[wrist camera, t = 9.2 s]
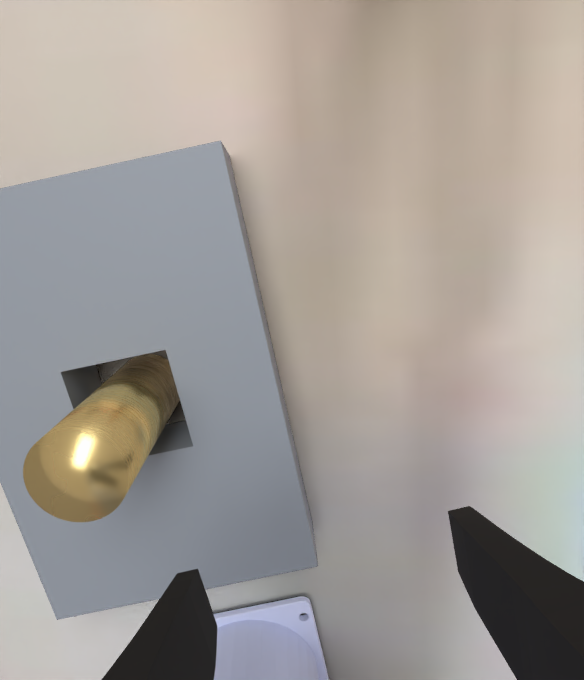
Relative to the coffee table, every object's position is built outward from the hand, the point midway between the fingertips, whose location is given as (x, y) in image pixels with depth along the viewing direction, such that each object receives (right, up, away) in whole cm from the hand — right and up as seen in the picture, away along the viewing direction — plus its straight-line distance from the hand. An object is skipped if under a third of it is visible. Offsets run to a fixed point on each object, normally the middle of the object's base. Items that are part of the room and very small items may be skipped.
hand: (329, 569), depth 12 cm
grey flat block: (-8, +4, +8) cm, 12 cm away
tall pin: (-8, +4, +8) cm, 12 cm away
